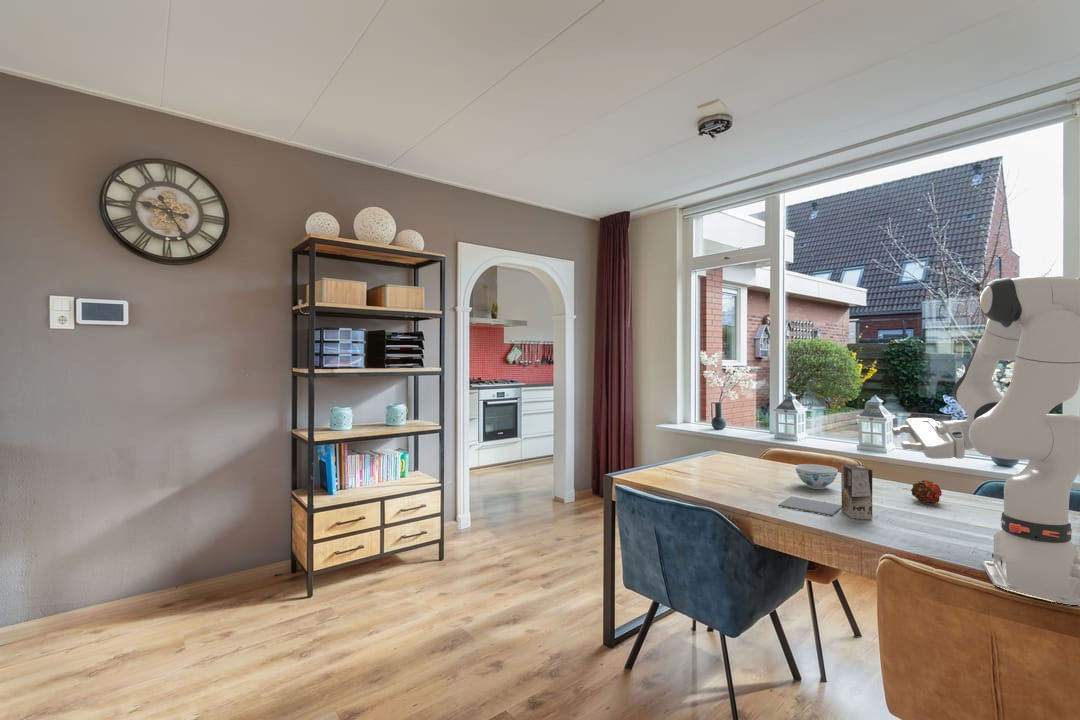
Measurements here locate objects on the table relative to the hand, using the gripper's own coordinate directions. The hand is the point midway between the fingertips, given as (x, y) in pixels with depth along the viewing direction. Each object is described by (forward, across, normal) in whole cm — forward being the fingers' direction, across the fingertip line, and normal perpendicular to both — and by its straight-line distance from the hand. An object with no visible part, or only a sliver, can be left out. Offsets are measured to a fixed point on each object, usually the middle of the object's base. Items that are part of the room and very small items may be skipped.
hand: (897, 438), depth 158 cm
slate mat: (+26, -4, +27) cm, 37 cm away
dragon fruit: (-13, -22, +38) cm, 46 cm away
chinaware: (+21, -32, +38) cm, 53 cm away
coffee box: (+13, +2, +27) cm, 30 cm away
